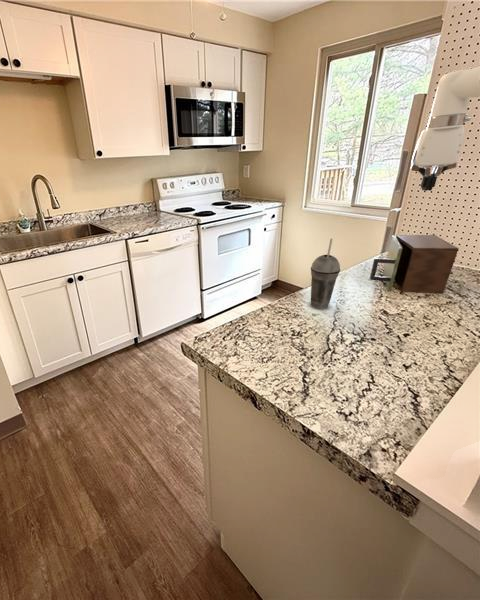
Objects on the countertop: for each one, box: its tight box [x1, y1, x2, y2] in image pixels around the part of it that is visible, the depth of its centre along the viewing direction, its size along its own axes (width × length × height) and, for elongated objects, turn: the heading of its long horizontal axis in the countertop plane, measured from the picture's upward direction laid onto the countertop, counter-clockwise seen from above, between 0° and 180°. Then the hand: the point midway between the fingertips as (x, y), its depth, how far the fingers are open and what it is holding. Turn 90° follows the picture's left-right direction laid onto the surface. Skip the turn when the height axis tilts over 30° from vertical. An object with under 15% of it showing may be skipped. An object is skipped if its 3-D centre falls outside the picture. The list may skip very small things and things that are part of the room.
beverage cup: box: [310, 238, 341, 310], centre depth 87 cm, size 7×7×20 cm
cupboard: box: [393, 234, 459, 294], centre depth 96 cm, size 10×15×14 cm
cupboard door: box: [369, 235, 403, 292], centre depth 100 cm, size 6×15×14 cm, turn 151°
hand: (426, 189), depth 96 cm, fingers closed
